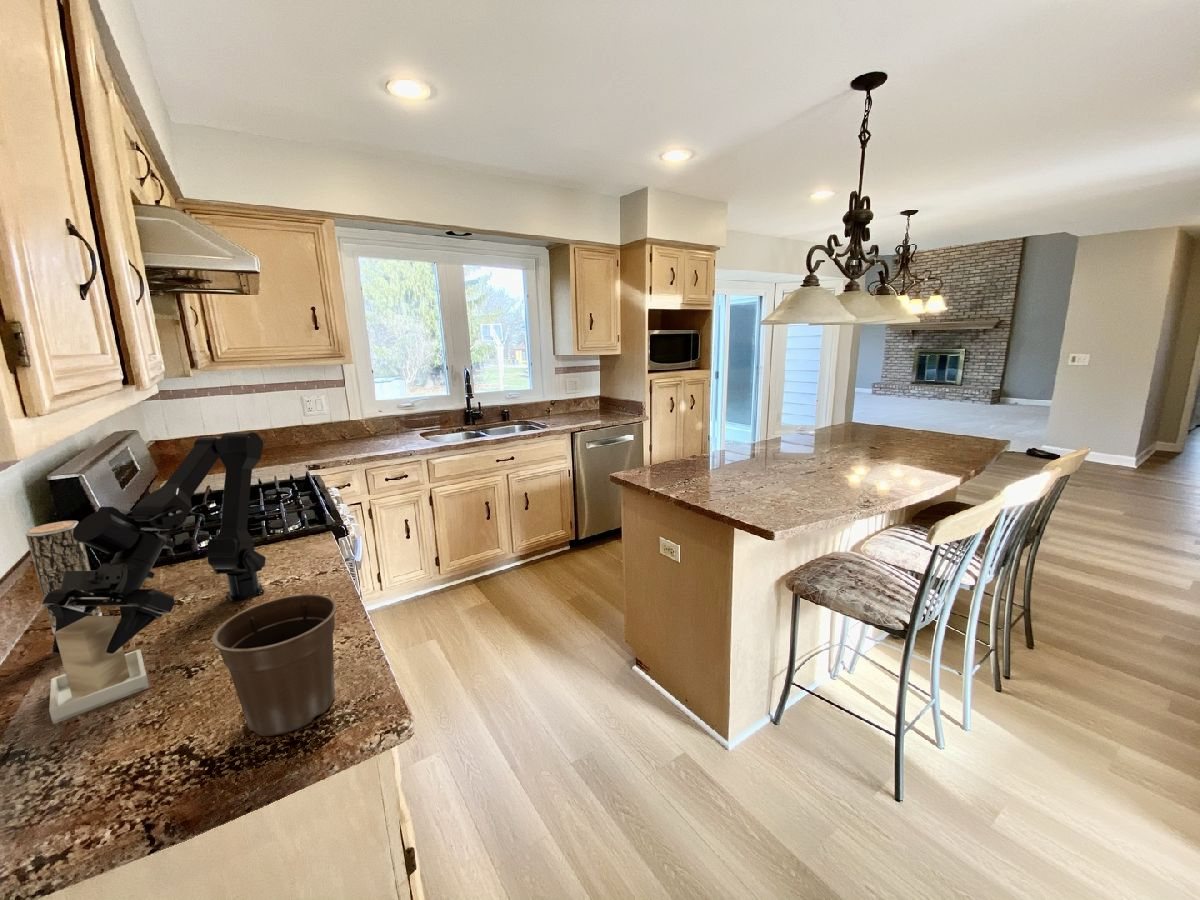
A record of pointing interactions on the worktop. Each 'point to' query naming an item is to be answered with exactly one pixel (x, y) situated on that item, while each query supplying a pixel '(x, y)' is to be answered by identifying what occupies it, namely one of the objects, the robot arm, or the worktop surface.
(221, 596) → the worktop surface
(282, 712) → the plant pot
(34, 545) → the bark-printed cylinder
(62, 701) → the tray
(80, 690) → the beech block
